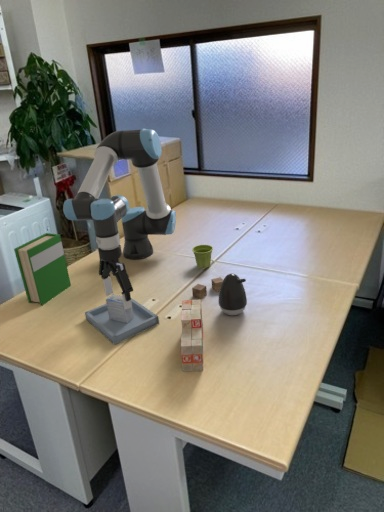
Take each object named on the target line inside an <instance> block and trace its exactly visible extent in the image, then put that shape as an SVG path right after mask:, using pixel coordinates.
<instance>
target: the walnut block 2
mask: <svg viewBox="0 0 384 512" xmlns="http://www.w3.org/2000/svg"><path fill="white" fill-rule="evenodd" d="M210 280H211V288H212V289H213V291H214V292H220V288H221V284H222V282H223V280H224V278H222V277H220V276H219V277H215V278H212V279H210Z"/></svg>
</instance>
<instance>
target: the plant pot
mask: <svg viewBox="0 0 384 512" xmlns="http://www.w3.org/2000/svg"><path fill="white" fill-rule="evenodd" d="M213 249H214V247H213V246H212V245H210V244H198V245H195V246H193V247H192V249H191V251H192V252H193V255H194V258H195V263H196V267H198V268H199V269H207V268H209V267H211V260H212V254H213Z"/></svg>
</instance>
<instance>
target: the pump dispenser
mask: <svg viewBox="0 0 384 512" xmlns="http://www.w3.org/2000/svg"><path fill="white" fill-rule="evenodd" d="M246 280H247V279H246V278H240V277H239V276H238V274H235V273H228V274H227V275H225V277H224V278H223V282H222V284H221V288H220V291H218V306H219V307H220V308H219V309H221V312H223V313H224V314H226V315H228V316H237V315H240V314H242V313H243V312H244V310H245V308H246V306H247V303H248V300H247V293H246V289H245V286H244V284H243V283H245V282H247V281H246Z"/></svg>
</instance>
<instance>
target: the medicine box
mask: <svg viewBox="0 0 384 512" xmlns="http://www.w3.org/2000/svg"><path fill="white" fill-rule="evenodd" d="M105 304H107V309H108V314H109V319H110V320H113V321H118V322H123V323H128V322H129V321H130V320H131V319H132V318H133V317H134V316H133V311H132V307H131V308H128V309H126V310H125V309H124V304H123V298H122V295H121V294H120V295H119V294H114V293H113V294H110V295H109V296H108V297H107V298H106V299H105Z"/></svg>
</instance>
